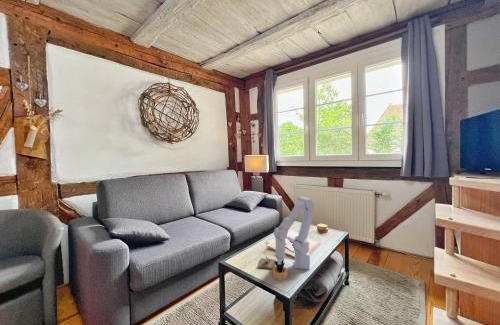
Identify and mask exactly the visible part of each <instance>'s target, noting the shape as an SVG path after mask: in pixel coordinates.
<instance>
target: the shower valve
mask: <svg viewBox="0 0 500 325" xmlns="http://www.w3.org/2000/svg"><path fill="white" fill-rule="evenodd" d="M285 239H287V240H288V241H289V243H290V242H291V243H293V241H294V240H295V238H293V237H290V236H287V237H286V238H285Z"/></svg>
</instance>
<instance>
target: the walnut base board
mask: <svg viewBox="0 0 500 325" xmlns="http://www.w3.org/2000/svg"><path fill="white" fill-rule="evenodd" d="M275 261H277V259H274V258H269V263H268V264H267V263H266V257H265V258H263V257H260V260H259V264H258V265H257V266H258V267H257V268H258V269H263V270H272V271H273V267H275V266H276V265H275Z"/></svg>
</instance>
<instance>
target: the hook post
mask: <svg viewBox="0 0 500 325" xmlns="http://www.w3.org/2000/svg"><path fill="white" fill-rule="evenodd" d="M265 259H266V263H267V264H268V263H269V259H270V257H269V256H268V255H265Z"/></svg>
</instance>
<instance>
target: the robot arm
mask: <svg viewBox="0 0 500 325" xmlns="http://www.w3.org/2000/svg"><path fill="white" fill-rule="evenodd" d="M294 204H295V205H294V207H293V208H292V210H291V212H289V215H288V216H286V217H284V218H283V220H282V222H281V223H280V225H278V227H276V228H274V231H273V236H274V238H275V253H273V257H275V258H276V259H275V260H276V261H275V266H276V267H277V271H278V273H282V269H283V266H284V267H285V258H286V248H285V244H286V239H287V238H286V237H288V232H289V230H290V229H291V227H292V226H293V224H294V223H293V221H294V220H295V218H296V217H297V216H298V214H300V213H301V212H302V211H303V216H302V220H301V225H300V227H299V228H300V229H299V232H298V235H297V236H295V237H294V239H295V240H294V241H293V244H292V246H293V248H294V251H295V252H294V261H293V267H294V269H300V270H311V269H310V268H311V266H310V265H311V259H310V254H311V253H310V252H309V251H310V241H309V239H308V235H309V232H310V227H311V223H312V220H313V216H314V211H315V210H314V208H315V204H316V203H315V201H314V200H313V199H312V198H308V197H306V196H303V195H300V196H298V198H297V199H296V200H295V203H294Z"/></svg>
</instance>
